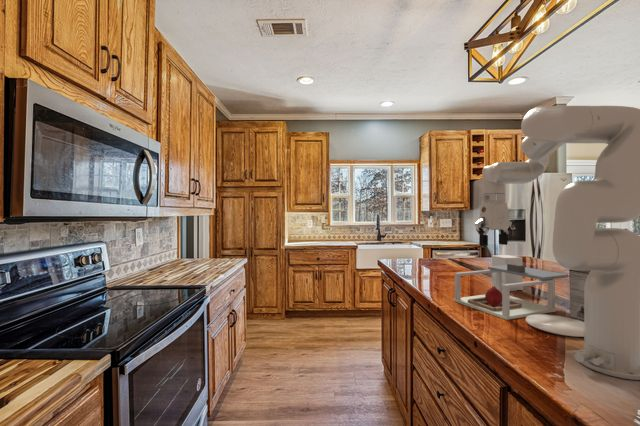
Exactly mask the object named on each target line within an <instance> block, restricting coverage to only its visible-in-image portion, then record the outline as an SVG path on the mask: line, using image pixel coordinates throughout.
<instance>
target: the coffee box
mask: <svg viewBox="0 0 640 426" xmlns="http://www.w3.org/2000/svg"><path fill="white" fill-rule="evenodd" d="M568 271H569V316H570V317H571V318H573V319H574V318H575V319H577V318H578V319H577V320H580V319H581V320H582V321H583V320H584V287H585V282H586V279H587V277H588V275H589V273H590V271H591V270H588V271H579V270H570V269H568ZM581 320H580V321H581Z"/></svg>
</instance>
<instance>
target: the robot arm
mask: <svg viewBox="0 0 640 426" xmlns="http://www.w3.org/2000/svg"><path fill="white" fill-rule="evenodd" d="M520 127H521V128H520V130H521V133H522V134H523V135H524V136H525V137H524V138H523V139H522V141H521V142H520V143H521V144H520V147H521V151H522V152H523V154H524V155H525V157H526V158H529V159H527V160H525V161H498V162H495V163H493V164H491V165H486V166H484V167H483V168H482V173H481V174H482V177H481V178H482V181H481V183H482V186H481V191H482V193H481V194H482V195H481V204H480V212H479V219H478V220H477V221H476V222H474V224H473V225H474V226H475V231H476V232H477V234H478V236H479V239H478V240H479V243H478V245H479V246H483V247H488V245H489V235H488V232H489V231H490V230H491V231H497V230H498V231H499V233H498V244H499V245H502V246H504V245H505V246H507V245H508V242H509V241H508V237H509V236H508V235H509V234H510V230H511V226H512V224H513V222H512V221H511V220H510V216H509V215H510V214H509V206H508V202H506V185H509V184H511V185H512V184H513V185H514V184H519V185H520V184H521V185H522V184H523V185H524V184H528V183H531V182H533V181H534V180H535V179H538V178H539V177H540V176H541V175H543V174H544V173H545V172H546V171H547V168H548V166H549V163H550V156H551V155H552V154H554V153H555V152H556V151H557V150H558V149H559V148H561V147H562V146H563V145H565V144H606V145H607V146H605V148H603V150H602V151H601V152H600V154H599V156H598V157H597V159H596V163H595V170H594V175H593V176H594V177H593V180H592V179H591V180H587V179H586V180H578V181H577V180H576V181H574V182H571V183H569V184H567V185H565V187H563V188H562V190H561V191H560V193H559V194H558V197H557V199H556V202H555V203H556V204H555V209H554V210H555V211H554V222H553V232H552V244H551V245H552V253H553V254H552V255H553V257H554V259H555V260H556V262H557V263H558V264H559V265H560V266H561V267H563V268H564V269H566V270H569V269H570V270H579V271H588V270H591V271H590V273H589V275H588V277H587V279H586V282H585V287H584V321H583V322H584V337H583V340H584V341H583V342H584V343H583V349H579V350H576V352H575V354H574V356H573V357H574V359H575V361H577V362H578V363H580V364H582V365H583V366H585V367H586V368H589V369H591V370H593V371H596V372H598V373H601V374H604V375H607V376H611V377H615V378H620V379H626V380H633V381H640V235H639V234H638V233H636V232H634V231H631V230H630V229H629V230H628V229H624V228H621V227H617V228H616V227H600V228H599V227H597V224H606V223H608V224H615V223H618V224H619V223H626V222H632V221H634V220H636V219H638V218H639V217H640V108H638V107H634V106H633V107H632V106H625V105H538V106H535V107H533V108H532V109H530V110H529V111H527V113H526V114H525V115H524V116H523V119H522V120H521V125H520Z"/></svg>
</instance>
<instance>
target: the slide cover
mask: <svg viewBox="0 0 640 426" xmlns="http://www.w3.org/2000/svg"><path fill="white" fill-rule="evenodd" d="M487 270H495V271H500V272H505V273H510V274H515V275H520V276H523V277H524V278H529V279H530V278H531V279H535V280H550V279H553V280H557V279H565V278H568V277H569V274H567V273H563V272H562V273H561V272H555V271H549V270H543V269H539V268H531V267H527V266H526V265H523V264H522V265H519V264H507V265H502V266H492V265H491V266H487Z"/></svg>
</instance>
